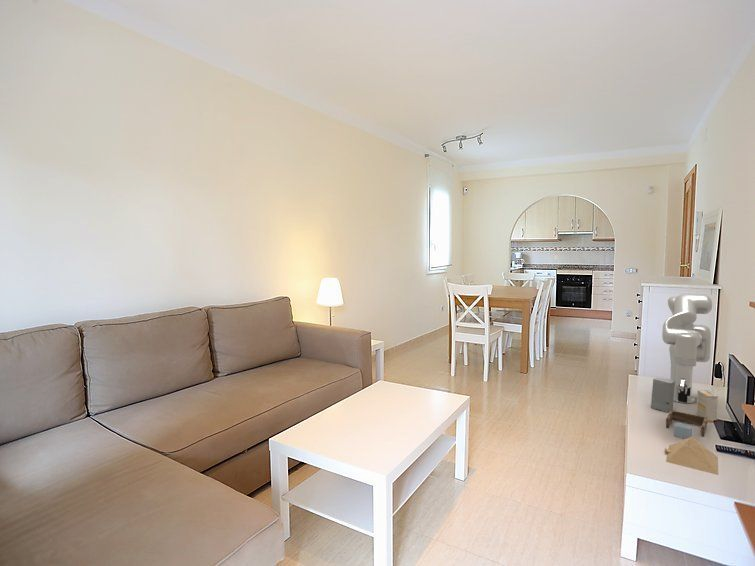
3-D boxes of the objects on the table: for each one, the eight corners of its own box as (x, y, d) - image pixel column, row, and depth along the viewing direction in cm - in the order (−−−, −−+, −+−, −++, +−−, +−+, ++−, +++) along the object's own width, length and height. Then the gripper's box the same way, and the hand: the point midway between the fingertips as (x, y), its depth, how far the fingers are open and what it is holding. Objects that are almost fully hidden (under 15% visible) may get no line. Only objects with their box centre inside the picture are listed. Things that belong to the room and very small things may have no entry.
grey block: (675, 432, 185) (675, 422, 184) (691, 436, 180) (692, 426, 180) (673, 436, 181) (674, 425, 181) (690, 440, 177) (691, 429, 177)
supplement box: (717, 422, 193) (718, 396, 192) (706, 422, 194) (707, 395, 193) (707, 415, 201) (708, 389, 200) (696, 415, 202) (697, 389, 201)
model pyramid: (666, 445, 174) (666, 423, 173) (718, 457, 163) (719, 434, 162) (662, 462, 161) (663, 438, 161) (719, 476, 150) (720, 451, 150)
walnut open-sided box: (670, 418, 199) (670, 410, 198) (707, 426, 189) (707, 417, 189) (665, 428, 189) (666, 418, 189) (704, 437, 180) (704, 427, 179)
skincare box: (650, 408, 212) (651, 378, 210) (655, 404, 216) (656, 375, 215) (669, 413, 205) (670, 382, 204) (674, 409, 209) (675, 379, 208)
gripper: (677, 355, 187) (676, 391, 188) (671, 364, 174) (670, 402, 176) (698, 357, 181) (697, 394, 183) (693, 367, 169) (692, 406, 171)
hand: (684, 398), depth 179 cm, fingers open, 9 cm apart
